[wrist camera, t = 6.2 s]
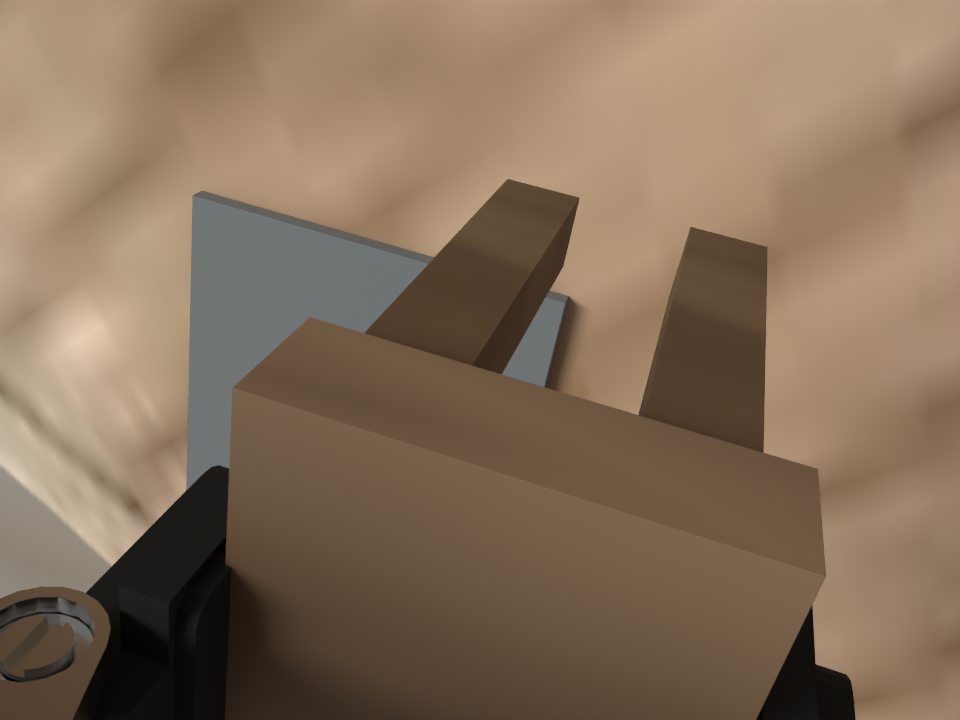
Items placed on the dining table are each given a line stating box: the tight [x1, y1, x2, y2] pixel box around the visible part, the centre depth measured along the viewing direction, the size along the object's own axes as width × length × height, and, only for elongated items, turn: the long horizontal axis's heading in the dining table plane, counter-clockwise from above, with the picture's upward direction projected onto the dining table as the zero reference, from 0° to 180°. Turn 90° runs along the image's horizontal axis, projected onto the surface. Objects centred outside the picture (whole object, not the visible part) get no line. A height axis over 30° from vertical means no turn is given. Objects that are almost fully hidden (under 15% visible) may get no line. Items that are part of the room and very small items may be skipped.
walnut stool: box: [225, 179, 826, 720], centre depth 12 cm, size 7×5×8 cm
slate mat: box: [187, 191, 569, 490], centre depth 35 cm, size 14×14×1 cm
